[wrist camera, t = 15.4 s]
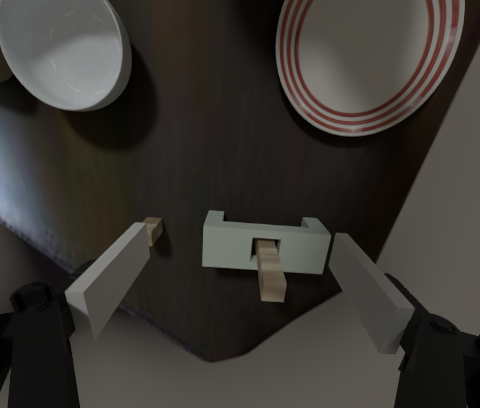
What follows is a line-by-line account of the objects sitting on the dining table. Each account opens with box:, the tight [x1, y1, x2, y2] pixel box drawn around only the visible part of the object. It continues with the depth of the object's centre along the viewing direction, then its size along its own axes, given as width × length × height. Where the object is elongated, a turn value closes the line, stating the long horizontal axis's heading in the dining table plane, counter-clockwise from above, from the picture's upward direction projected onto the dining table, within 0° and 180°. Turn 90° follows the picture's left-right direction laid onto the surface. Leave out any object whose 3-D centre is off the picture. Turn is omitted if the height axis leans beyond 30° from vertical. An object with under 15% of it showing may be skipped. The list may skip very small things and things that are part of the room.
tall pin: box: [254, 238, 287, 302], centre depth 39 cm, size 3×3×18 cm
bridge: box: [202, 210, 331, 274], centre depth 44 cm, size 8×22×8 cm, turn 85°
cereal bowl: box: [0, 0, 132, 111], centre depth 34 cm, size 17×17×7 cm
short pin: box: [142, 217, 163, 246], centre depth 44 cm, size 3×3×6 cm
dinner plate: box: [276, 0, 465, 136], centre depth 35 cm, size 28×27×3 cm
